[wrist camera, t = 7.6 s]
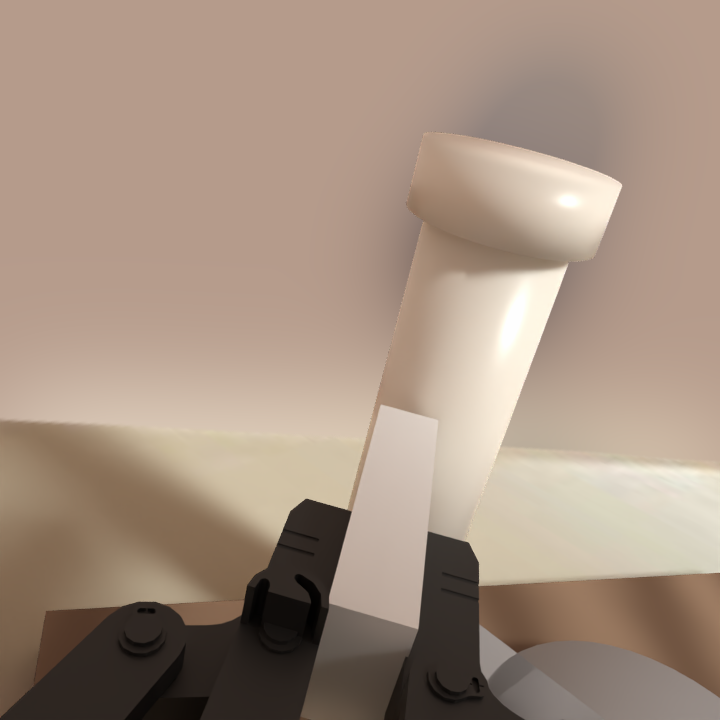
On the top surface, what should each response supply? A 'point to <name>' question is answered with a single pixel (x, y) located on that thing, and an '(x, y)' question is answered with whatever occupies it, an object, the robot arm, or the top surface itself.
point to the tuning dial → (506, 385)
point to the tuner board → (523, 620)
